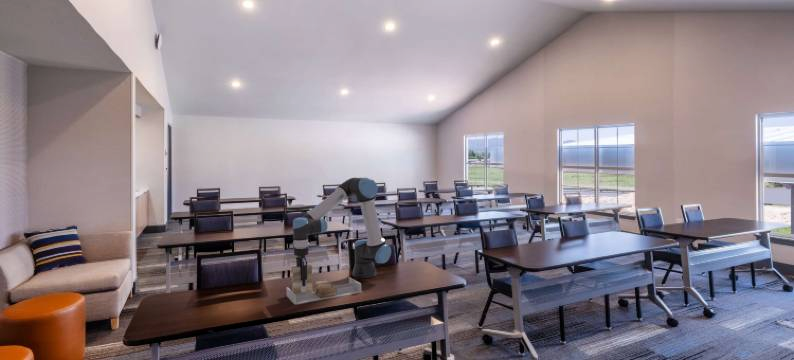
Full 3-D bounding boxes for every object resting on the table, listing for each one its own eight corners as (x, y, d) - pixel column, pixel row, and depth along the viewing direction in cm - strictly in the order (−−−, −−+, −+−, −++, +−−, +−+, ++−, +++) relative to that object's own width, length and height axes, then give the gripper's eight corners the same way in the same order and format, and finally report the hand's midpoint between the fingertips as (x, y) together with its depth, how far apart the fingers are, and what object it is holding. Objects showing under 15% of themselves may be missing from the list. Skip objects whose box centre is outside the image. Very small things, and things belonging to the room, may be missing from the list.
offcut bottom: (313, 292, 239) (313, 289, 239) (327, 290, 242) (327, 286, 242) (320, 298, 228) (320, 294, 228) (335, 295, 232) (335, 292, 232)
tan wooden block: (292, 298, 229) (291, 267, 228) (310, 295, 234) (309, 264, 233) (294, 300, 226) (293, 268, 225) (312, 297, 230) (311, 265, 230)
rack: (286, 298, 234) (286, 287, 233) (350, 287, 251) (350, 277, 251) (294, 306, 220) (294, 295, 219) (361, 294, 237) (361, 283, 237)
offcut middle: (315, 289, 237) (314, 286, 237) (327, 287, 241) (327, 283, 241) (322, 294, 228) (322, 290, 228) (335, 292, 232) (335, 288, 232)
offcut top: (315, 285, 238) (315, 281, 238) (327, 283, 241) (327, 280, 241) (319, 289, 230) (319, 286, 230) (331, 288, 232) (330, 284, 232)
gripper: (289, 245, 234) (291, 288, 235) (298, 250, 219) (299, 296, 220) (303, 243, 237) (304, 285, 238) (312, 249, 223) (314, 293, 224)
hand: (302, 290), depth 229 cm, fingers closed on tan wooden block, 3 cm apart
